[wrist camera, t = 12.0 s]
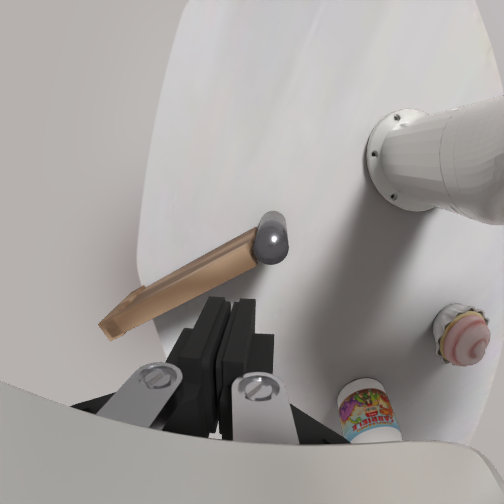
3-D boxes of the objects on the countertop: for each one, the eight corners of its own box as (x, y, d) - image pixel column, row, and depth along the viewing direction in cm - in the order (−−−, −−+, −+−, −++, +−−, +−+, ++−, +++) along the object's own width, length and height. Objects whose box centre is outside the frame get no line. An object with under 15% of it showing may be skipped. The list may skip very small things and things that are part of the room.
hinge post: (286, 211, 37) (289, 231, 27) (285, 236, 38) (287, 265, 27) (260, 210, 37) (253, 229, 27) (260, 235, 38) (252, 263, 28)
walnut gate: (264, 241, 37) (259, 266, 28) (140, 306, 41) (110, 341, 32) (254, 223, 37) (246, 243, 28) (131, 292, 41) (98, 324, 32)
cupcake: (448, 281, 38) (485, 312, 28) (482, 308, 38) (517, 339, 29) (410, 334, 40) (437, 375, 31) (447, 356, 41) (474, 393, 31)
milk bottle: (387, 401, 44) (421, 497, 25) (343, 417, 45) (361, 518, 26) (377, 369, 42) (417, 473, 23) (330, 387, 44) (347, 497, 24)
